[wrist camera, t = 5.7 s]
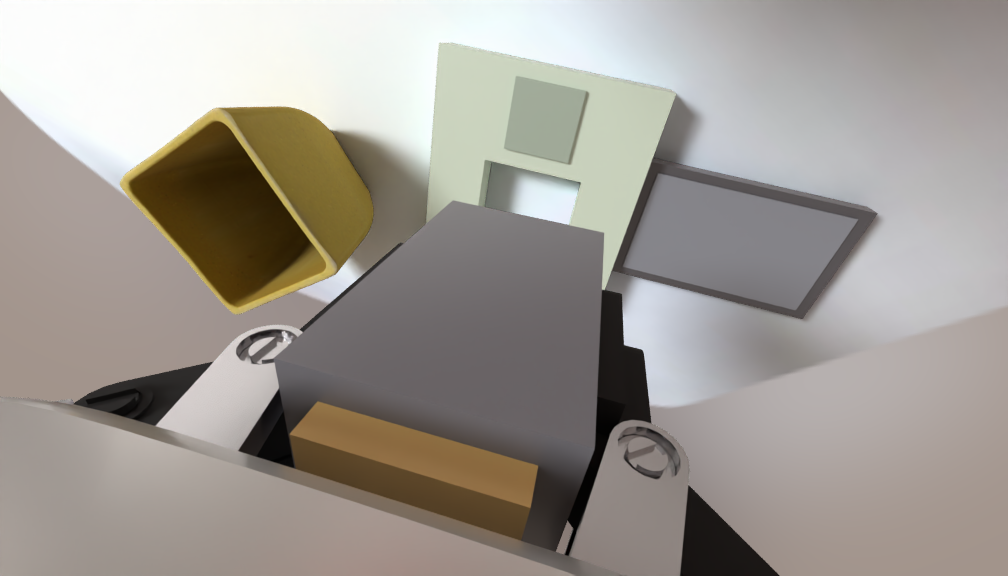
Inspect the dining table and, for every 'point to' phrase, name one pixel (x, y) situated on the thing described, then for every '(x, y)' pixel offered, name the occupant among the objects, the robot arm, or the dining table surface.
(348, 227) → the flower pot
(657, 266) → the phone slab
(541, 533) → the block
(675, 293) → the dining table surface
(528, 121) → the outlet plate
